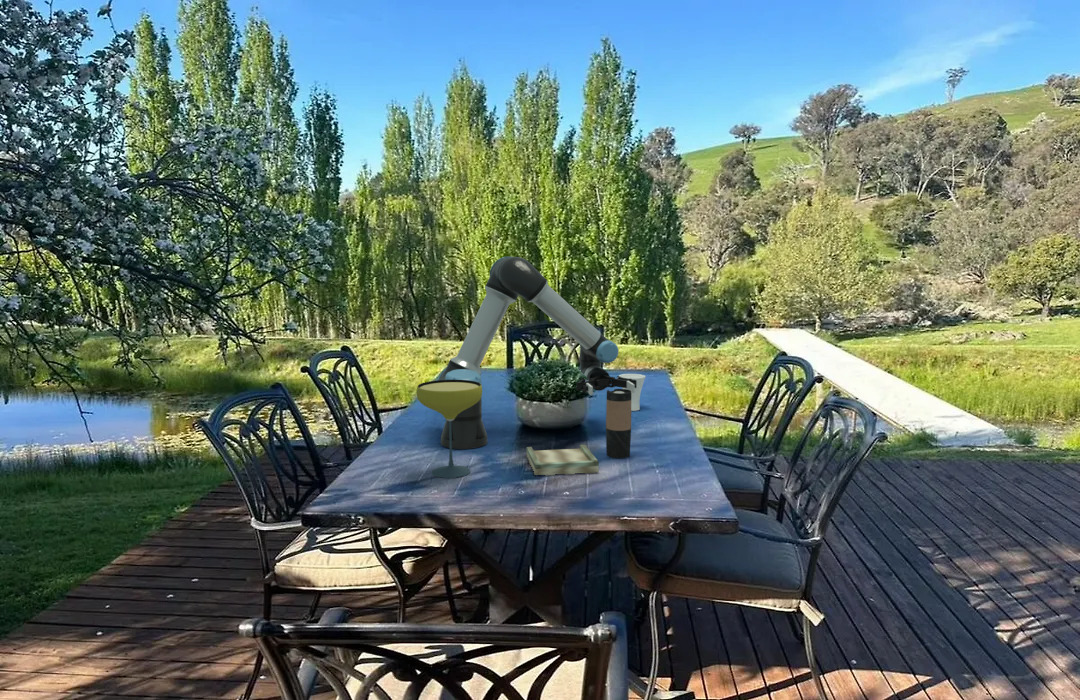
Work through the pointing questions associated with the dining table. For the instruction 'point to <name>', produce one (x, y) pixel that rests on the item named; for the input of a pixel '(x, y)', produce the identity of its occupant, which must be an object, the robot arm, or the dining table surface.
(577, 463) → the tray
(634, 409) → the cup
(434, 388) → the cocktail glass
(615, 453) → the travel mug
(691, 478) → the dining table surface
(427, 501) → the dining table surface
